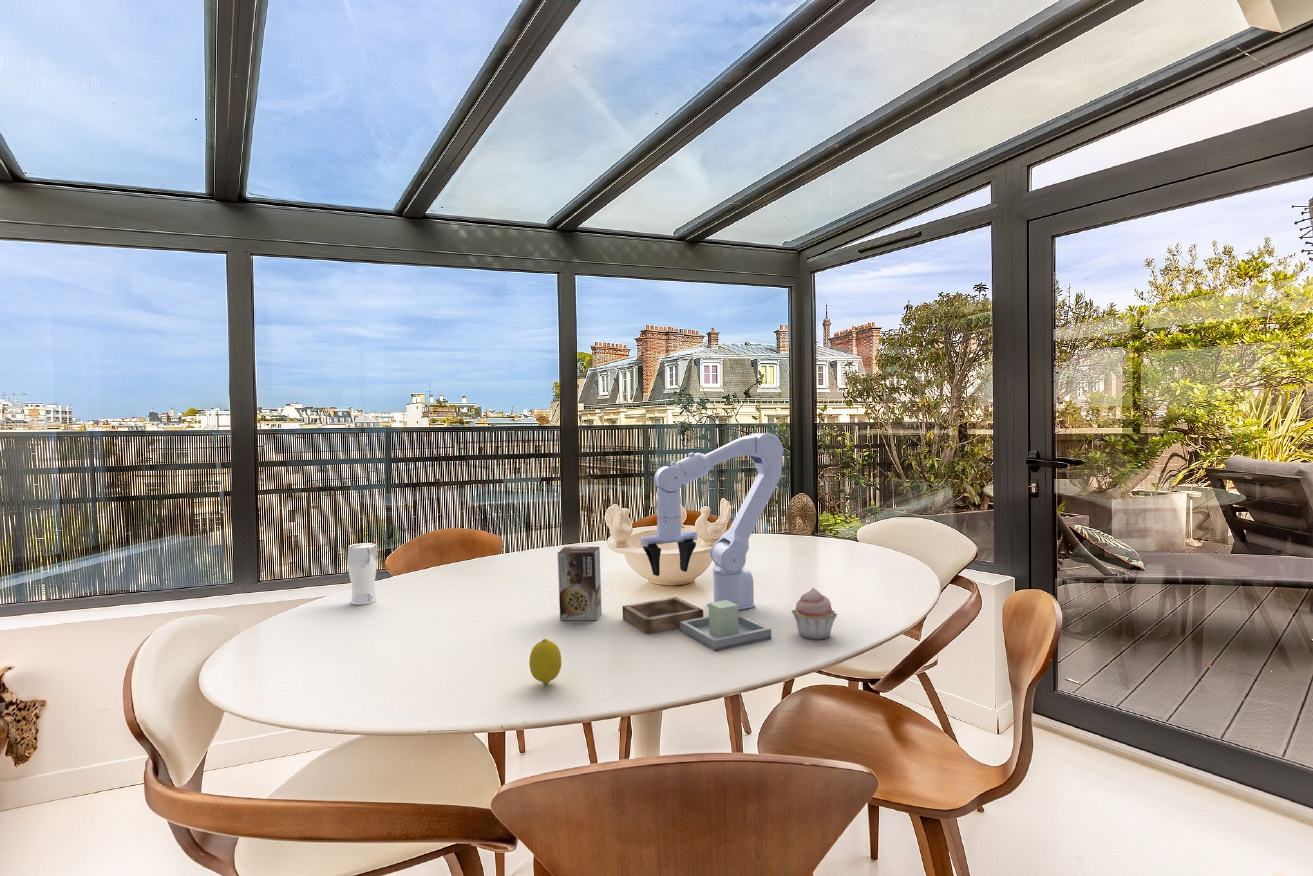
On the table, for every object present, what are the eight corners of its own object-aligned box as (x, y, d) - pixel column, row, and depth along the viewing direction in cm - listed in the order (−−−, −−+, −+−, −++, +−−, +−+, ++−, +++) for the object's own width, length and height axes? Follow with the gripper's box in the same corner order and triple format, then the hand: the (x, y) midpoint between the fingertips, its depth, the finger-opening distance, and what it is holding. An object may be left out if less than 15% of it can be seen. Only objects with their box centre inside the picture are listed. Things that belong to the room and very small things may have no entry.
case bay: (676, 609, 151) (676, 596, 151) (703, 623, 140) (703, 609, 140) (622, 618, 144) (622, 606, 144) (646, 634, 133) (646, 620, 133)
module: (726, 627, 135) (726, 600, 135) (738, 633, 131) (738, 605, 131) (709, 630, 133) (708, 603, 133) (720, 637, 129) (720, 608, 129)
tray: (732, 620, 141) (732, 611, 141) (771, 638, 129) (771, 628, 129) (679, 630, 135) (679, 621, 135) (714, 651, 122) (714, 641, 122)
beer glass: (370, 605, 159) (368, 547, 159) (343, 606, 159) (341, 548, 159) (382, 598, 166) (381, 542, 166) (357, 598, 166) (355, 543, 166)
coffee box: (602, 612, 149) (600, 546, 149) (597, 621, 143) (595, 551, 142) (565, 612, 150) (563, 546, 150) (558, 620, 144) (556, 551, 143)
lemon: (531, 678, 111) (530, 634, 111) (563, 677, 111) (561, 633, 111) (528, 692, 105) (526, 645, 105) (560, 690, 106) (559, 643, 106)
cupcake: (825, 626, 136) (824, 581, 135) (845, 640, 126) (844, 592, 126) (784, 629, 134) (784, 583, 134) (802, 644, 125) (801, 595, 125)
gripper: (649, 521, 141) (650, 580, 141) (703, 516, 148) (704, 572, 148) (636, 517, 147) (637, 574, 148) (688, 512, 154) (689, 566, 154)
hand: (670, 572), depth 148 cm, fingers open, 7 cm apart
